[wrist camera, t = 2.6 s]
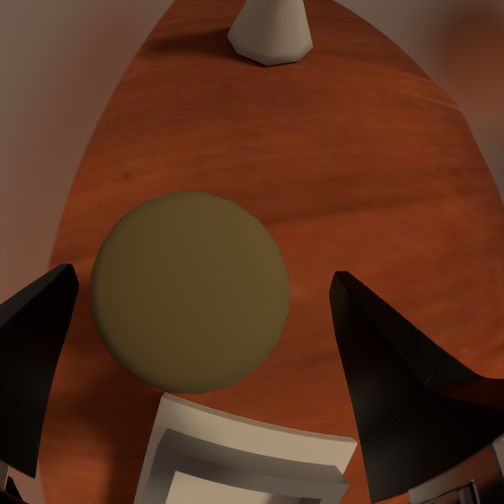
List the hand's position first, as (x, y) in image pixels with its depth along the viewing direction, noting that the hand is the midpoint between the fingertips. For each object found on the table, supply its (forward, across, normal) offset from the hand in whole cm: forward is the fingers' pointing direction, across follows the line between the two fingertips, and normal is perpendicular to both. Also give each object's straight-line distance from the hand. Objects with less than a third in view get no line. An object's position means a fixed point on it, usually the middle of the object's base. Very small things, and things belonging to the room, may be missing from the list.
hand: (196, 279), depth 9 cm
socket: (-5, -1, +16) cm, 16 cm away
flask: (+21, -4, -10) cm, 23 cm away
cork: (+5, 0, +6) cm, 8 cm away
